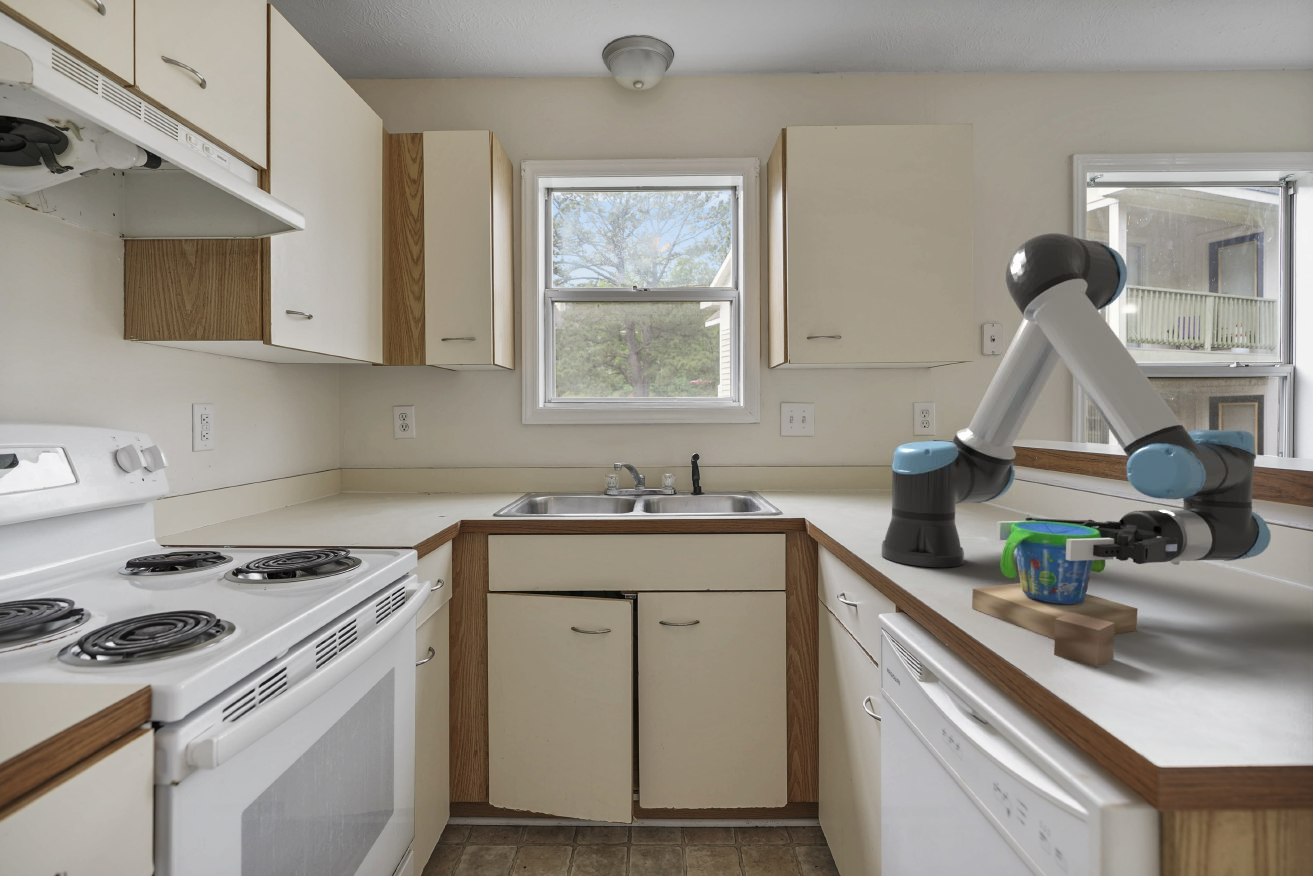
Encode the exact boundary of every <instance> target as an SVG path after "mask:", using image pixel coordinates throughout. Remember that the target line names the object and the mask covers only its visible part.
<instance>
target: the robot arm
mask: <svg viewBox="0 0 1313 876" xmlns="http://www.w3.org/2000/svg"><path fill="white" fill-rule="evenodd" d="M1125 262H1126V261H1125V260H1124V257H1122V255H1121V254H1120V253H1119V252H1118V250H1116V249H1114V248H1112V247H1110V246H1108V245H1106V244H1103V243H1100V242H1099V241H1094V240H1088V239H1083V238H1078V237H1076V236H1075V237H1074V236H1070V235H1067V234H1064V233H1058V232H1057V233H1056V232H1055V233H1046V234H1045V233H1044V234H1040V235H1037V236H1034V237H1032V238H1031V239H1029V240H1027V241H1025V242H1023V243H1021V245H1020V246H1019V247H1018V248H1017V249H1016V250H1015V251H1014V252H1013V254H1012V255H1011V257H1010V258H1009V260H1008V263H1007V265H1006V271H1005V283H1006V286H1007V289H1008V292H1009V294H1010V297H1011V299H1012V300H1013V302H1014V303H1015V306H1016V307H1017V308H1018V309H1019V311H1020V313H1021V314H1022V315H1023V319H1022V321H1021V323H1020V325H1019V327H1018V329H1017V331H1016V332H1015V335H1014V337H1013V339H1012V340H1011V343H1010V344H1009V347H1008V348H1007V351H1006V352H1005V355H1004V356H1003V359H1002V361H1001V362H1000V364H999V365H998V369H997V370H996V372H995V374H994V376H993V378H992V379H991V382H990V384H989V386H988V388H987V390H986V392H985V394H984V395H983V398H982V400H981V401H980V403H979V406H978V407H977V409H976V412H975V413H974V416H973V417H972V419H971V421H970V424H969V426H967V427H966V428H962V429H959V430H958V431H957V432H956V434H955V436H954V438H953V439H952V441H948V440H947V441H945V440H928V441H915V442H908V443H905V444H901V445H898V447H896V448H895V450H894V453H893V462H892V465H891V467H892V468H891V469H892V484H891V485H892V491H891V495H892V496H891V498H892V499H891V519H890V522H889V524H888V527H887V530H886V534H885V537H884V540H883V541H882V543H881V556H882V557H883V558H884V559H887V560H890V561H892V562H895V563H899V564H904V565H909V566H918V567H926V568H953V567H959V566H962V565H963V564H964V561H965V560H964V559H965V551H964V548H963V547H962V546H961V542H960V535H959V533H958V529H957V526H956V508H957V507H956V506H957V505H961V504H981V503H986V502H989V501H992V500H997V499H999V498H1001V497H1002V496H1003V495H1005V494H1006V493H1007V492H1008V491H1009V490H1010V489H1011V486H1012V485H1013V483H1014V479H1015V474H1016V473H1015V472H1016V471H1015V469H1014V466H1015V465H1014V461H1015V458H1016V456H1017V453H1016V451H1015V449H1014V447H1013V444H1014V442H1015V440H1016V438H1017V437H1018V435H1019V433H1020V431H1021V429H1022V428H1023V426H1024V424H1025V422H1026V420H1027V419H1028V417H1029V415H1030V413H1031V412H1032V409H1033V408H1034V406H1035V404H1036V403H1037V400H1038V399H1039V397H1040V395H1041V393H1042V391H1043V390H1044V387H1045V386H1046V384H1047V382H1048V381H1049V379H1050V377H1051V375H1052V373H1053V371H1054V370H1055V368H1056V366H1057V364H1058V362H1059V361H1060V359H1061V360H1062V361H1063V363H1064V365H1065V367H1067V369H1068V370H1069V372H1070V374H1071V375H1072V376H1073V378H1074V380H1075V381H1076V383H1077V385H1078V386H1079V387H1080V388H1081V390H1082V391H1083V393H1084V394H1085V395H1086V397H1087V399H1088V400H1089V402H1090V403H1091V405H1092V406H1093V407H1094V409H1095V410H1096V412H1097V413H1098V414H1099V417H1100V418H1101V419H1102V420H1103V422H1104V424H1105V425H1106V427H1107V428H1108V430H1109V431H1110V432H1111V434H1112V436H1114V438H1115V441H1117V443H1118V444H1119V446H1120V447H1121V449H1122V450H1123V451H1124V453H1125V455H1126V456H1127V458H1128V460H1127V463H1126V477H1127V480H1128V482H1129V483H1130V485H1131V486H1132V487H1133V488H1134V489H1135V490H1136V491H1137V492H1139V493H1141V494H1143V495H1145V496H1148V498H1149V497H1150V498H1154V499H1161V500H1163V499H1165V500H1181V499H1183V500H1182V501H1183V506H1182V507H1183V508H1182V509H1159V510H1158V509H1157V510H1134V511H1130V512H1128V513H1125V514H1124V515H1123V516H1122V517H1121V518H1120V520H1118V521H1115V520H1114V521H1113V520H1112V521H1111V520H1107V521H1095V520H1093V519H1084V520H1083V519H1081V520H1080V519H1079V520H1077V519H1076V520H1075V519H1057V518H1056V519H1055V518H1054V519H1053V518H1039V517H1038V518H1036V517H1035V518H1033V517H1025V521H1046V522H1059V523H1068V524H1075V525H1081V526H1085V527H1090V528H1093V529H1096V530H1098V531H1099V532H1100V536H1101V538H1087V539H1066V560H1069V561H1080V560H1105V561H1106V560H1107V561H1108V560H1114V558H1115V559H1116V560H1119V561H1121V562H1123V561H1128V560H1129V559H1132V562H1133V563H1135V564H1137V565H1142V564H1148V563H1150V564H1151V563H1168V562H1170V563H1171V564H1172V565H1174V566H1175V565H1176V566H1178V565H1180V563H1181V562H1185V561H1186V562H1193V561H1224V562H1227V561H1228V562H1229V561H1237V560H1245V559H1249V558H1254V557H1257V556H1259V555H1260V554H1262V553H1263V552H1265V550H1267V548H1268V547H1269V545H1270V542H1271V537H1272V536H1271V530H1270V528H1269V527H1268V525H1267V522H1266V521H1265V519H1264V518H1263V517H1262V516H1261V515H1259V514H1257V513H1256V512H1254V511H1253V489H1254V487H1253V486H1254V474H1255V460H1256V459H1257V453H1256V448H1255V447H1256V445H1255V444H1256V443H1255V436H1254V434H1252V433H1251V432H1249V431H1246V430H1227V429H1226V430H1225V429H1223V430H1222V429H1218V430H1217V429H1193V430H1191V431H1189V432H1188V431H1187V429H1186V428H1185V427H1184V425H1183V424H1182V422H1181V421H1180V420H1179V418H1178V416H1177V415H1176V414H1175V413H1174V411H1172V410H1173V409H1171V408H1170V406H1169V405H1168V403H1167V401H1165V399H1164V398H1163V397H1162V395H1161V394H1160V392H1159V391H1158V389H1157V388H1156V387H1155V386H1154V384H1153V383H1152V382H1151V381H1150V379H1149V377H1148V376H1147V375H1146V373H1145V372H1144V371H1143V370H1142V368H1141V367H1140V365H1139V364H1138V363H1137V362H1136V360H1135V359H1134V358H1133V356H1132V355H1131V354H1130V352H1129V351H1128V349H1127V348H1126V347H1125V345H1124V343H1122V341H1121V340H1120V339H1119V337H1118V336H1117V334H1116V333H1115V332H1114V330H1113V329H1112V328H1111V326H1110V325H1109V323H1108V322H1107V321H1106V319H1104V317H1103V316H1102V314H1101V313H1100V312H1099V311H1100V310H1101V309H1104V308H1106V307H1107V306H1110V305H1112V304H1113V303H1114V302H1115V301H1116V300H1117V299H1118V298H1119V297H1120V295H1121V294H1122V292H1123V290H1124V288H1125V286H1126V282H1127V279H1128V269H1127V268H1128V267H1127V264H1126V263H1125ZM1023 521H1024V520H1015V521H1013V520H1009V521H1003V520H1002V521H996V535H995V538H996V540H998V541H1007V539H1008V538H1009V535H1011V525H1012V524H1013V523H1016V522H1023Z"/></svg>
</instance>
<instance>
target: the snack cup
mask: <svg viewBox="0 0 1313 876" xmlns="http://www.w3.org/2000/svg"><path fill="white" fill-rule="evenodd" d="M1022 521H1023V522H1016V523H1013V524H1012V525H1011V535H1009V538H1008V539H1007V540H1005V544H1004V546H1003V549H1002V555H1001V558H1000V564H999V567H1000V571H1001V573H1002V575H1003V576H1005V577H1006V578H1010V579H1015V578H1017V568H1018V576H1019V581H1020V582H1019V583H1021V588H1022V590H1023V592H1024V593H1025V594H1026V595H1027V596H1029V597H1030V598H1032V599H1037V600H1040V601H1044V602H1049V603H1056V604H1075V603H1078V602H1083V601H1084V599H1085V596H1086V594H1087V592H1088V586H1089V582H1090V577H1091V572H1093V573H1100V572H1101V573H1102V572H1103V571H1104V569H1105V568H1106V560H1080V561H1069V560H1066V539H1087V538H1101V536H1100V532H1099V531H1098V530H1096V529H1093V528H1090V527H1085V526H1081V525H1075V524H1068V523H1059V522H1046V521H1026V520H1022ZM1015 550H1016V554H1015ZM1015 555H1016V560H1017V561H1016V562H1017V568H1016V563H1015V557H1014V556H1015Z"/></svg>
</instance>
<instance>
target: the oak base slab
mask: <svg viewBox="0 0 1313 876" xmlns="http://www.w3.org/2000/svg"><path fill="white" fill-rule="evenodd" d="M971 601H972V602H971V605H972V606H971V608H973V609H972V610H975V611H979V612H980V611H981V613H984V614H986V615H988V614H989V616H992V617H994V618H996V617H997V619H999V618H1000V619H999V620H1002V621H1005V622H1007V621H1008V622H1007V623H1010V624H1013V625H1016V626H1018V627H1020V626H1021V628H1024V629H1026V630H1029V631H1032V632H1034V633H1036V632H1037V634H1038V635H1039V634H1040V635H1042V636H1045V637H1047V638H1049V639H1052V640H1055V619H1056V618H1059V617H1061V616H1064V615H1066V614H1069V613H1071V612H1073V613H1077V614H1081V615H1085V616H1089V617H1093V618H1097V619H1101V620H1105V621H1109V622H1113V623H1115V626H1114V635H1117V634H1123V633H1128V632H1134V631H1137V630H1138V629H1137V627H1138V610H1139V609H1138V607H1133V606H1129V605H1128V604H1127V605H1126V604H1123V603H1120V602H1118V601H1117V602H1115V601H1112V600H1109V599H1105V598H1102V597H1099V596H1095V595H1092V594H1088V593H1086V596H1085V599H1084V601H1083V602H1078V603H1075V604H1056V603H1049V602H1044V601H1040V600H1037V599H1032V598H1030V597H1029V596H1027V595H1026V594H1025V593H1024V592H1023V590H1022V588H1021V583H1020V582H1019V583H1018V582H1017V583H1009V584H999V585H992V586H983V587H975V588H972V600H971Z"/></svg>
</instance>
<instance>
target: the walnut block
mask: <svg viewBox="0 0 1313 876" xmlns="http://www.w3.org/2000/svg"><path fill="white" fill-rule="evenodd" d="M1114 626H1115V623H1113V622H1109V621H1105V620H1101V619H1097V618H1093V617H1089V616H1085V615H1081V614H1077V613H1073V612H1071V613H1069V614H1066V615H1064V616H1061V617H1059V618H1056V619H1055V639H1054V643H1053V644H1054V646H1053V647H1054V648H1053V649H1054V650H1053V655H1054V656H1057V657H1060V658H1064V659H1068V660H1069V661H1073V662H1077V663H1079V664H1080V663H1081V664H1082V665H1086V666H1089V667H1092V666H1093V667H1092V668H1095V669H1096V668H1097V669H1098V668H1100V667H1101V666H1103V665H1106V664H1107V663H1109V662H1111V661H1113V660H1114V648H1115V646H1114V644H1115V634H1114Z"/></svg>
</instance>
